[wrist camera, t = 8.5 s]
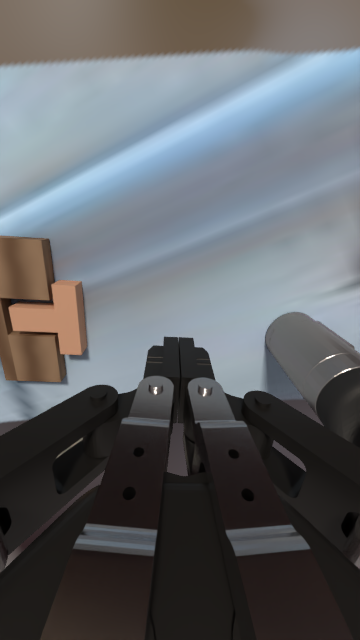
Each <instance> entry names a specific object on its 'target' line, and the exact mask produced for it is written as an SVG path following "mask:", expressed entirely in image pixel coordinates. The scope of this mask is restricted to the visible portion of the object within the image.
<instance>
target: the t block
mask: <svg viewBox="0 0 360 640" xmlns="http://www.w3.org/2000/svg"><path fill="white" fill-rule="evenodd" d="M51 286H52V294H53V301H54V303H41V302H22V301H19V302H17V303H15V304H14V305H12V306H10V307H8V308H9V313H10V317H11V322H12V327H13V331H31V332H53V333H58V339H59V347H60V354H70V355H82V354H83V352H84V351H85V349H86V347H87V339H86V328H85V316H84V305H83V293H82V281H66V280H59V281H57V282H55V283H53V284H52V285H51Z"/></svg>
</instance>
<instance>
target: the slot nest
mask: <svg viewBox="0 0 360 640" xmlns="http://www.w3.org/2000/svg"><path fill="white" fill-rule="evenodd" d="M53 283H55V282H54V274H53V266H52V258H51V250H50V242H49V239H44V238H29V237H14V236H0V357H1V361H2V365H3V369H4V374H5V378H6V380H16V381H44V382H61V381H62V380H63V378H64V377H65V375H66V368H65V360H64V354H60V347H59V339H58V333H53V332H31V331H13V327H12V322H11V317H10V313H9V308H8V307H10V306H12V304H11V299H10V298H13V299H32V300H51V299H52V298H53V294H52V286H51V285H52V284H53Z"/></svg>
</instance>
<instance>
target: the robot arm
mask: <svg viewBox="0 0 360 640" xmlns="http://www.w3.org/2000/svg"><path fill="white" fill-rule="evenodd" d="M265 340H266V345H267V348H268V349H269V351H270V352H271V353H272V355H273V356H274V358H275V359H276V360H277V362H278V363H279V365H280V366H281V367H282V369H283V370H284V371H285V373H286V374H287V376H288V377H289V378H290V380H291V381H292V382H293V384H294V385H295V387H296V388H297V389H298V391H299V392H300V393H301V395H302V396H303V398H304V399H305V400H306V402H307V403H308V404H309V406H310V407H311V408H312V410H313V411H314V412H315V414H316V415H317V416H318V418H319V419H320V421H321V422H322V423H323V425H324V426H322V425H320V424H319V423H317V422H316V421H314V420H312V419H311V418H309V417H307V416H306V415H304V414H302V413H301V412H299V411H297V410H296V409H294V408H292V407H291V406H289V405H287V404H286V403H284V402H283V401H281V400H279V399H278V398H276V397H274V396H273V395H271V394H269V393H266V392H263V391H250V392H248V393H246V394H245V396H244V399H242V398H238V397H235V396H231V395H229V394H226V393H225V392H224V391H223V388H222V386H221V385H220V384H219V383H218V382H216V381H215V377H214V373H213V369H212V366H211V362H210V358H209V354H208V352H207V351H206V350H205V349H204V348H198V347H194V341H193V338H182V337H179V341H178V337H164V346H152V347H151V348H150V349H149V350H148V355H147V361H146V367H145V372H144V378H143V380H142V381H141V382H140V383H139V385H138V388H137V389H135V390H133V391H131V392H127V393H122V394H118V392H117V390H116V389H115V388H113V387H111V386H108V385H96V386H92V387H89V388H87V389H85V390H83V391H82V392H80V393H78V394H76V395H74V396H73V397H71V398H69V399H67V400H65V401H63V402H62V403H60V404H58V405H56V406H54V407H52V408H51V409H49V410H47V411H45V412H43V413H42V414H40V415H38V416H36V417H34V418H32V419H31V420H29V421H27V422H25V423H23V424H21V425H20V426H18V427H16V428H14V429H12V430H11V431H9V432H7V433H5V434H3V435H2V436H0V640H360V353H358V352H357V351H356V350H355V348H354V346H353V345H351V344H350V343H349V342H347V341H346V340H344V339H343V338H342V337H340V336H339V335H337V334H336V333H335V332H333V331H332V330H330V329H329V328H328V327H326V326H325V325H323V324H322V323H321V322H319V321H315V320H313V319H312V318H311V317H309V316H308V315H306V314H303V313H300V312H292V313H287V314H284V315H282V316H280V317H278V318H277V319H276V320H275V321H274V322H273V323H272V324H271V325H270V327H269V328H268V330H267V333H266V339H265ZM177 409H178V423H184V432H183V433H184V434H183V443H184V451H185V457H186V465H187V472H188V476H179V475H175V474H172V473H168V472H167V467H168V456H169V447H170V435H171V434H172V429H173V423H176V422H177ZM81 438H83V440H81V441H80V442H78V443H77V444H76V445H74V446H73V447H71V448H70V449H69V450H67V451H66V452H64V453H63V454H62V455H60V456H59V457H57V456H58V455H59V454H60V453H62V452H63V451H64V450H66V449H67V448H69V447H70V446H71V445H73V444H74V443H76V442H77V441H78V440H80V439H81ZM273 440H275V441H276V442H278V443H279V444H280V445H282V446H283V447H285V448H286V449H287V450H288V451H290V452H291V453H292V454H294V455H295V456H297V457H298V458H299V459H300V460H301V461H302V462H303V463H304V465H305V467H306V472H305V471H304V470H303V469H301V468H300V467H299V466H297V465H296V464H294V463H293V462H292V461H291V460H289V459H288V458H287V457H285V456H284V455H283V454H282V453H280V452H279V451H278V450H276V449H275V448H274V447H272V444H273ZM104 470H105V471H104ZM103 471H104V474H103V477H102V480H101V483H100V485H98V486H96V487H94V488H93V489H91V490H90V491H88V492H86V493H85V494H84V495H83V496H81V497H80V498H79V499H78V500H76V502H74V503H73V504H72V505H71V506H70V507H69V508H68V509H67V510H66V511H65V512H64V513H63V514H62V515H61V516H59V517H58V518H57V519H56V520H55V521H54V522H53V523H52V524H51V525H50V526H49V527H48V528H47V529H46V530H45V531H44V532H43V533H42V534H41V535H40V536H38V538H36V539H35V540H34V541H33V542H32V543H31V544H30V545H29V546H28V547H27V548H26V549H25V550H24V551H23V552H22V553H21V554H20V555H19V556H18V557H16V558H15V559H14V560H13V561H12V562H11V563H10V564H9V565H8V566H7V567H6V568H5V566H6V563H7V559H8V555H9V554H10V553H12V551H14V550H15V549H16V548H17V547H18V546H19V545H21V544H22V543H23V542H24V541H25V540H26V539H27V538H28V537H30V535H32V534H33V533H34V532H35V531H36V530H37V529H39V528H40V527H41V526H42V525H43V524H44V523H45V522H47V521H48V520H49V519H50V518H51V517H52V516H53V515H54V514H56V513H57V512H58V511H59V510H60V509H61V508H62V507H63V506H64V505H66V504H67V503H68V502H69V501H70V500H71V499H72V498H74V497H75V496H76V495H77V494H78V493H79V492H80V491H82V490H83V489H84V488H85V487H86V486H87V485H88V484H89V483H90V482H92V481H93V480H94V479H95V478H96V477H97V476H98V475H100V474H101V473H102V472H103Z"/></svg>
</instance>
